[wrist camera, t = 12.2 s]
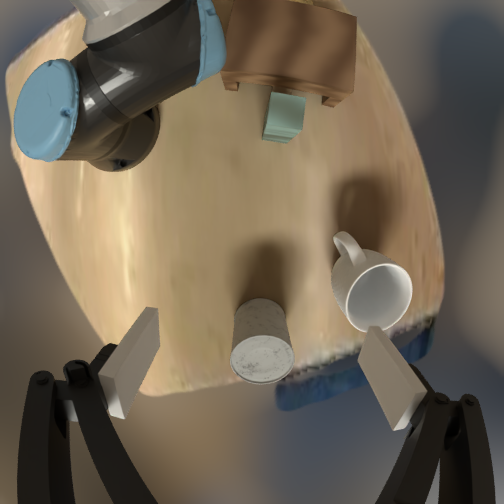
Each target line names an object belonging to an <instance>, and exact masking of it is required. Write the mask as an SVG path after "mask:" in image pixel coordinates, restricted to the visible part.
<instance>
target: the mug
mask: <svg viewBox="0 0 504 504" xmlns="http://www.w3.org/2000/svg"><path fill="white" fill-rule="evenodd" d="M333 240H334V243H335V245H336V247H337V249H338V251H339V253H340V255H341V257H340V258H339V259H338V260H337V261H336V263H335V265H334V267H333V270H332V275H331V281H332V282H331V284H332V289H333V293H334V296H335V298H336V301H337V302H338V305H339V306H340V308H341V309H342V311H343V313H344V314H345V316H346V317H347V319H348V320H349V322H350V323H351V324H352V325H353V326H354V327H355V328H357V329H358V330H360V331H363V332H367V331H368V328H369V326H379V327H380V328H381V329H382V330H385V329H387V328H389V327H391V326H392V325H394V324H395V323H396V322H397V321H398V320H399V319H400V318H401V317H402V316H403V315H404V313H405V312H406V310H407V308H408V306H409V304H410V301H411V297H412V282H411V279H410V276H409V275H408V273H407V272H406V270H405V269H404V268H402V267H401V266H400V265H398V264H397V263H396V262H395V261H392V260H391V259H390V258H388V257H386V256H384V255H382V254H381V253H378V252H375V251H373V250H369V249H361V248H360V246H359V245H358V243H357V242H356V241H355V240H354V238H353V237H352V236H351V235H350V234H348V233H347V232H345V231H341V232H338V233H336V234H335V235H334V237H333Z"/></svg>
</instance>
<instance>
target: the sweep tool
mask: <svg viewBox="0 0 504 504" xmlns="http://www.w3.org/2000/svg"><path fill="white" fill-rule="evenodd" d="M291 91H292V89H288V88H282V87H276V86H273V87H272V92H271V95H270V99H269V103H268V107H267V111H266V115H265V121H264V128H263V135H262V140H267V141H274V142H280V143H286V144H287V143H288V142H289V141H290V140H291V139H292V138H293V137H294V136H296V135H297V134H298V133H299V132H300V131H301V130H302V127H303V119H304V111H305V103H306V98H304V97H299V96H293V95H291Z"/></svg>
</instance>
